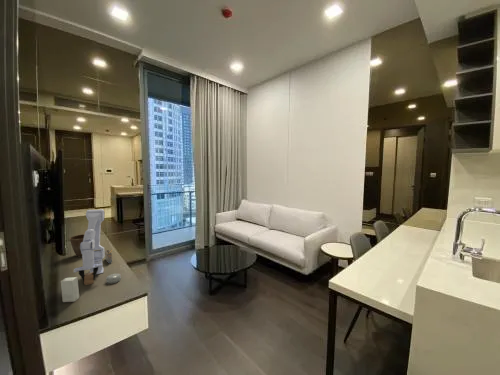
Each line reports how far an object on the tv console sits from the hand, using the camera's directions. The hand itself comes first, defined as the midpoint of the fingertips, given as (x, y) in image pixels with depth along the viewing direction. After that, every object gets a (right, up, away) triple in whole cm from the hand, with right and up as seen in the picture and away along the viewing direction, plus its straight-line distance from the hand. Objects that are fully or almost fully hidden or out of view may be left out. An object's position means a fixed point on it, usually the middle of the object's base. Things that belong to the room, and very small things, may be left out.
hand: (89, 280), depth 137 cm
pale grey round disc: (+14, -2, +3) cm, 14 cm away
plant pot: (-41, +1, +46) cm, 62 cm away
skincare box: (+4, -3, -19) cm, 19 cm away
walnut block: (0, -1, 0) cm, 1 cm away
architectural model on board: (-10, 0, +34) cm, 36 cm away
